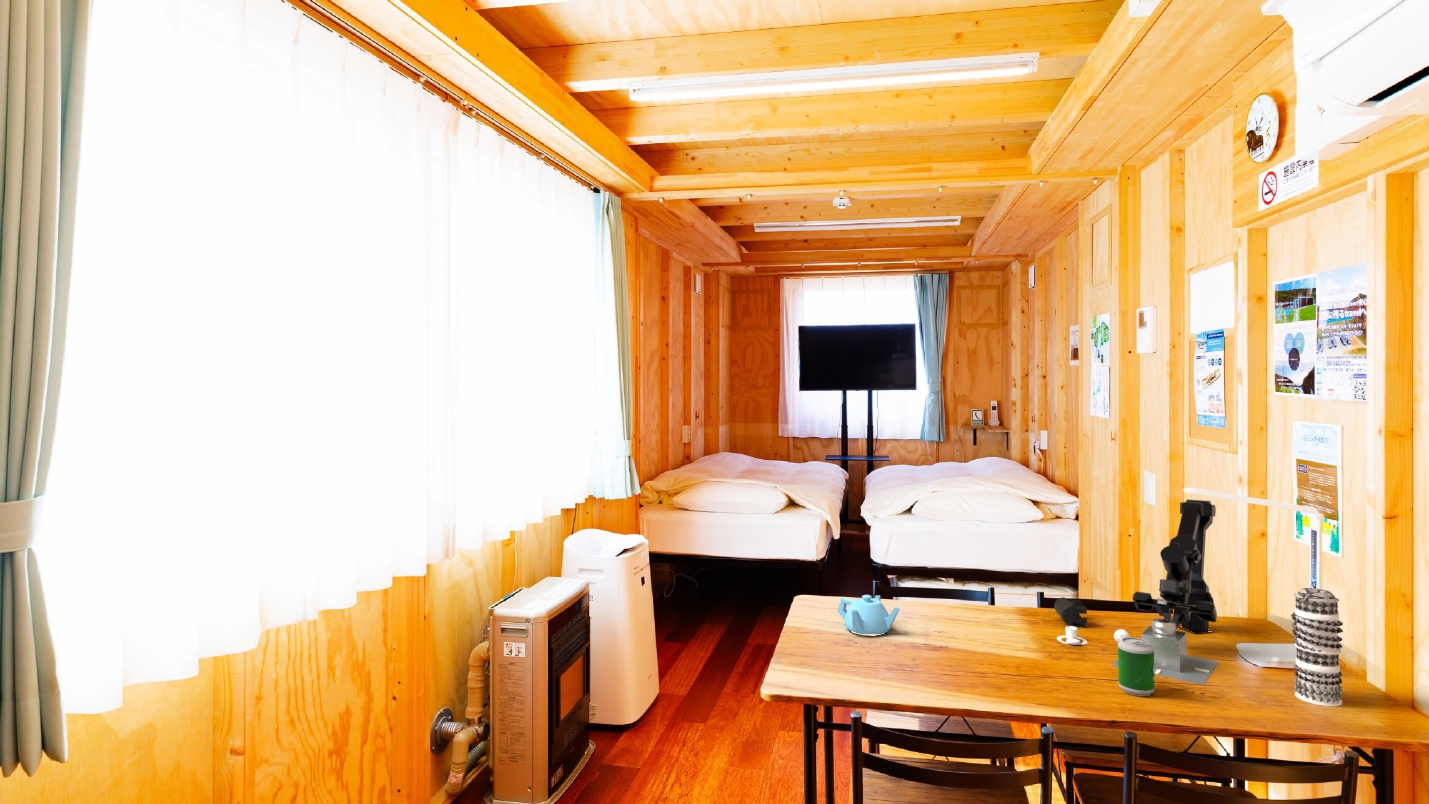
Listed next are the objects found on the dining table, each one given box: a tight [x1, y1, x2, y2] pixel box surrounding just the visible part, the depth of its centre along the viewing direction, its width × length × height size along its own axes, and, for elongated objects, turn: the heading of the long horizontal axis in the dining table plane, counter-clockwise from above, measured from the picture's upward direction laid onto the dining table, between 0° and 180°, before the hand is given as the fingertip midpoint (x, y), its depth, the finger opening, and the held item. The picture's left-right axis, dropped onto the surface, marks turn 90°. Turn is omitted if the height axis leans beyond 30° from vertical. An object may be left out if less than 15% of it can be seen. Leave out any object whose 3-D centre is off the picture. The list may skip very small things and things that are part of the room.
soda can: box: [1117, 636, 1156, 697], centre depth 173 cm, size 8×8×12 cm
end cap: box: [1053, 596, 1088, 629], centre depth 225 cm, size 10×7×7 cm
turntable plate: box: [1111, 628, 1219, 686], centre depth 187 cm, size 20×20×10 cm
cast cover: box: [1141, 618, 1188, 673], centre depth 187 cm, size 8×8×11 cm
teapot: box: [837, 594, 901, 634], centre depth 222 cm, size 15×15×11 cm
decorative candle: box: [1290, 587, 1344, 708], centre depth 166 cm, size 9×9×25 cm
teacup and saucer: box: [1056, 625, 1088, 646], centre depth 209 cm, size 9×8×4 cm
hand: (1169, 634), depth 191 cm, fingers closed
